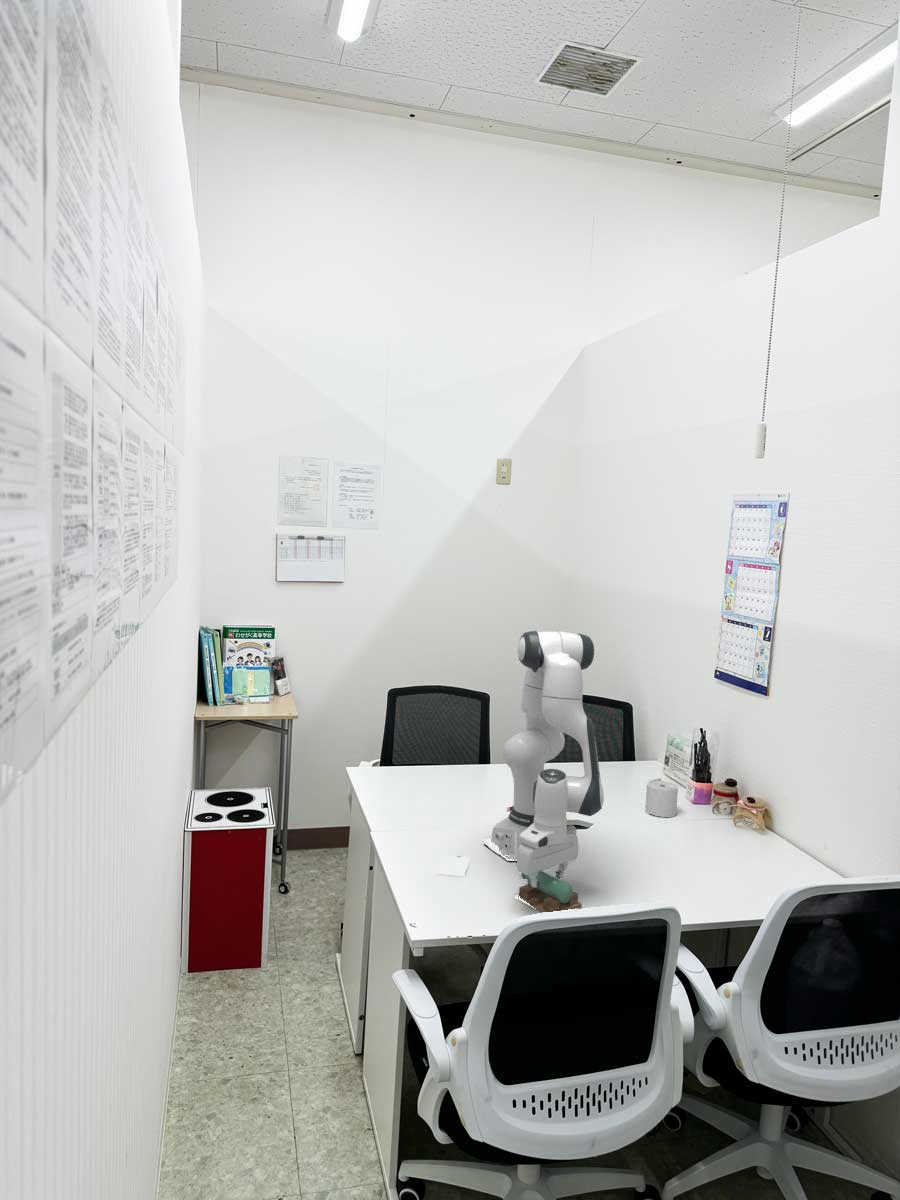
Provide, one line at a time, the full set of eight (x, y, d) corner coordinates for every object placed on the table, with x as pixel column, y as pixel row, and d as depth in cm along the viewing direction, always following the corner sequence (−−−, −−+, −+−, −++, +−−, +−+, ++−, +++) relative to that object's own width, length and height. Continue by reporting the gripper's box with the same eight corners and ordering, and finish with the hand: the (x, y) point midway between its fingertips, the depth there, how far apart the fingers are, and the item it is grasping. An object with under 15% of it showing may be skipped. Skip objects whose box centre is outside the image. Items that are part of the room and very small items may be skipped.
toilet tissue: (658, 819, 289) (659, 791, 288) (636, 808, 300) (638, 780, 299) (682, 816, 294) (684, 788, 293) (660, 804, 305) (662, 778, 304)
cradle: (514, 898, 225) (515, 886, 225) (543, 888, 232) (544, 876, 232) (552, 918, 215) (553, 905, 214) (581, 907, 222) (582, 894, 221)
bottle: (572, 900, 220) (573, 882, 220) (559, 905, 217) (560, 886, 216) (530, 880, 232) (532, 862, 231) (517, 883, 228) (519, 866, 228)
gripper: (567, 820, 231) (565, 868, 233) (514, 836, 218) (511, 887, 220) (585, 827, 226) (582, 876, 228) (531, 844, 213) (529, 896, 215)
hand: (547, 881), depth 223 cm, fingers open, 8 cm apart
